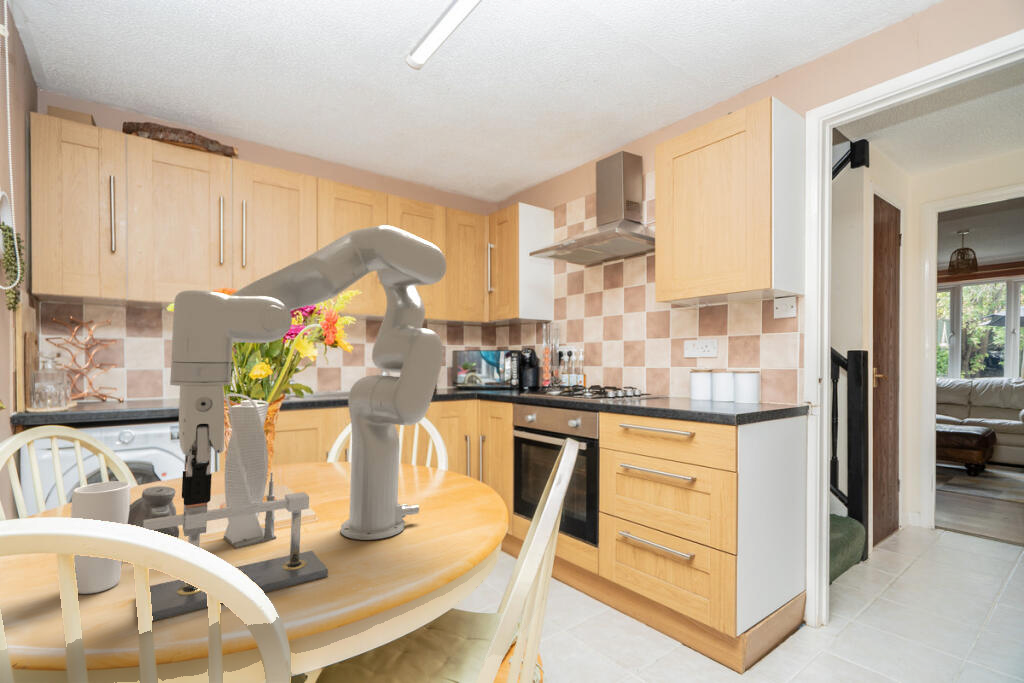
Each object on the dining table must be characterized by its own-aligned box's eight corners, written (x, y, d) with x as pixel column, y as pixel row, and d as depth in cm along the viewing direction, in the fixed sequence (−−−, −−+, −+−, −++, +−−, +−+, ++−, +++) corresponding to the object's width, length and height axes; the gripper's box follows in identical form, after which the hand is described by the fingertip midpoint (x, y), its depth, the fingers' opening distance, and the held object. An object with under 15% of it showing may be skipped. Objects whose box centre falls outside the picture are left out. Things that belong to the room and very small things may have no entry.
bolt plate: (311, 557, 84) (312, 549, 84) (327, 576, 77) (327, 567, 77) (139, 596, 70) (139, 586, 70) (139, 624, 62) (139, 614, 62)
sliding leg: (201, 577, 72) (206, 459, 72) (203, 587, 69) (209, 463, 70) (180, 582, 70) (185, 461, 71) (182, 592, 67) (187, 466, 68)
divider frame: (301, 559, 80) (304, 491, 81) (306, 566, 78) (309, 496, 78) (139, 596, 67) (143, 515, 68) (139, 605, 65) (143, 521, 65)
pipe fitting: (118, 537, 90) (128, 483, 90) (170, 531, 95) (179, 480, 95) (125, 566, 81) (136, 506, 81) (182, 557, 87) (191, 501, 87)
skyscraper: (227, 550, 86) (234, 395, 87) (213, 538, 92) (219, 392, 93) (275, 538, 92) (281, 393, 93) (259, 527, 98) (265, 390, 99)
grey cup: (137, 577, 75) (142, 481, 76) (101, 598, 69) (107, 493, 69) (93, 576, 75) (98, 480, 76) (53, 598, 68) (59, 492, 69)
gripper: (239, 377, 67) (233, 510, 66) (223, 372, 79) (218, 484, 79) (173, 377, 62) (166, 521, 61) (167, 372, 75) (162, 491, 74)
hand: (195, 499), depth 70 cm, fingers closed on sliding leg, 3 cm apart
